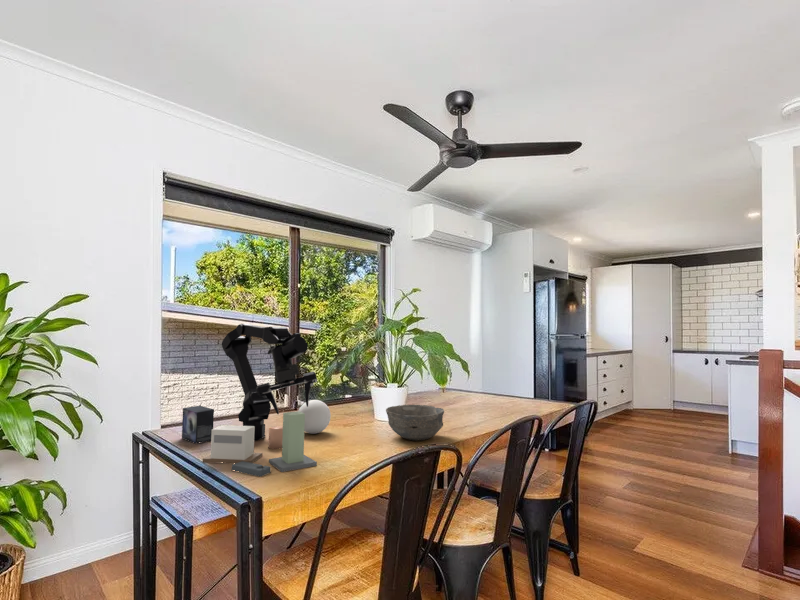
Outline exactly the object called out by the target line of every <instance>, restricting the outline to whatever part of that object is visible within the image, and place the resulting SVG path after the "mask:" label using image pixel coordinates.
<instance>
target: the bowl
mask: <svg viewBox="0 0 800 600" xmlns="http://www.w3.org/2000/svg"><path fill="white" fill-rule="evenodd" d="M385 413H386V415H387V420H388V426H389V427H390V428H391V429H392V431H393V432H394V433H395V434H396V435H398V436H400V437H401V438H403V439H405V440H409V441H414V440H415V442H416V441H417V440H421V441H425V439H426V440H428V439H431V438H432V437H434V436H435V435H436V434H437V433H438V432H439V431H441V429H442V428H443V426H444V422H443V419H444V418H443V416H444V413H445V410H444V408H442V407H435V406H432V405H428V404H427V405H426V404H399V405H395V406H394V405H392V406H388V407H387V408H385Z"/></svg>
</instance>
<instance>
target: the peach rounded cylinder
mask: <svg viewBox="0 0 800 600" xmlns="http://www.w3.org/2000/svg"><path fill="white" fill-rule="evenodd" d="M282 438H283V425H278V426H277V425H276V426H271V427H269V428H268V449H271V450H279V448H280V449H282Z"/></svg>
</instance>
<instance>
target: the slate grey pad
mask: <svg viewBox="0 0 800 600" xmlns="http://www.w3.org/2000/svg"><path fill="white" fill-rule="evenodd" d="M268 463H269V464H270V465H271V466H273V467H275V469H277V470H278V471H280V472H281V473H284V472H290V471H296V470H301V469H307V468H311V467H317V466H318V462H317V461H316V460H314V459H312V458H310V457H309V456H307V455H305V454H304V460H303V461H301V462H296V463H290V464H288V463H286V462H284V461H283V460H282V456H279V457H278V456H277V457H273V458H269V459H268Z"/></svg>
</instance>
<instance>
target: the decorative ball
mask: <svg viewBox="0 0 800 600" xmlns="http://www.w3.org/2000/svg"><path fill="white" fill-rule="evenodd" d="M298 411H299V412H302V413H304V414H305V424H304V433H306V434H307V433H308V434H311V435H313V434H319V433H321V432H323V431H325V429H326V428H328V427H329V424H330V422H331V418H332V417H331V416H332V415H331V410H330V408H329V406H328V405H327V404H326V403H325V402H324V401H322V400H320V399H319V400H318V399H309V402H308V407H307V405H306V401H305V402H304V403H303V404H301V406H300V407H299V409H298Z"/></svg>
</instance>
